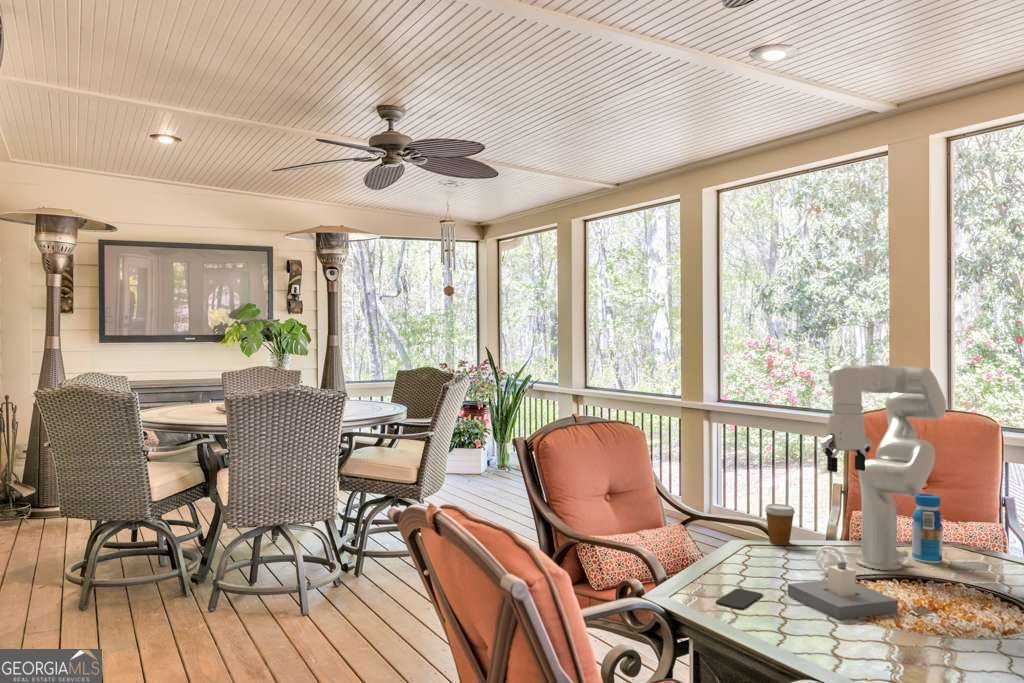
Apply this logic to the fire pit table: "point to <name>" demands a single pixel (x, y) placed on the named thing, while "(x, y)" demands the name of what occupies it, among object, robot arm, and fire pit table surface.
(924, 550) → the beverage bottle
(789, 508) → the disposable coffee cup
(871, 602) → the socket plate
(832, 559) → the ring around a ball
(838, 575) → the plug
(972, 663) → the fire pit table surface
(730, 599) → the phone
